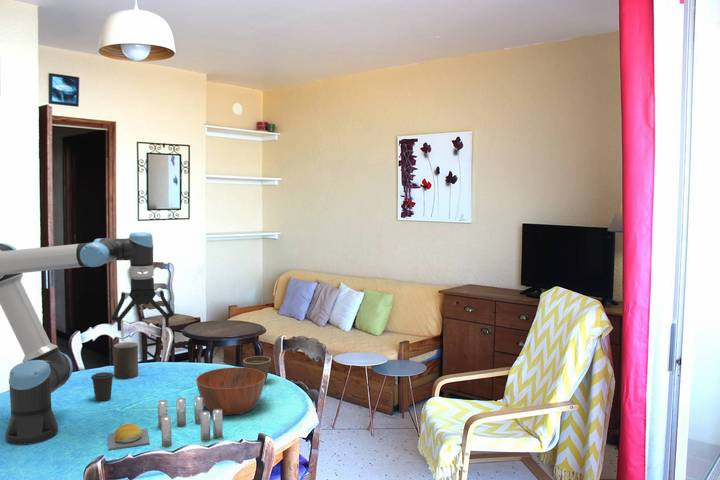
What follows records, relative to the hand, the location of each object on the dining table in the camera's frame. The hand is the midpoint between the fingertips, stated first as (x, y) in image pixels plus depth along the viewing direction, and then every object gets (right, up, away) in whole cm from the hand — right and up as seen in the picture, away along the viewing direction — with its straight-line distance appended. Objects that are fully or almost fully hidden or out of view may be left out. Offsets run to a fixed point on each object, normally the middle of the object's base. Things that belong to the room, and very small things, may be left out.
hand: (143, 338), depth 212 cm
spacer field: (+19, -30, -9) cm, 36 cm away
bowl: (+28, -28, +14) cm, 42 cm away
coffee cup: (-23, -27, +21) cm, 41 cm away
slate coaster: (+1, -30, -15) cm, 34 cm away
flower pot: (+32, -26, +42) cm, 59 cm away
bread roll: (0, -30, -15) cm, 33 cm away
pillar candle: (-25, -24, +50) cm, 61 cm away
